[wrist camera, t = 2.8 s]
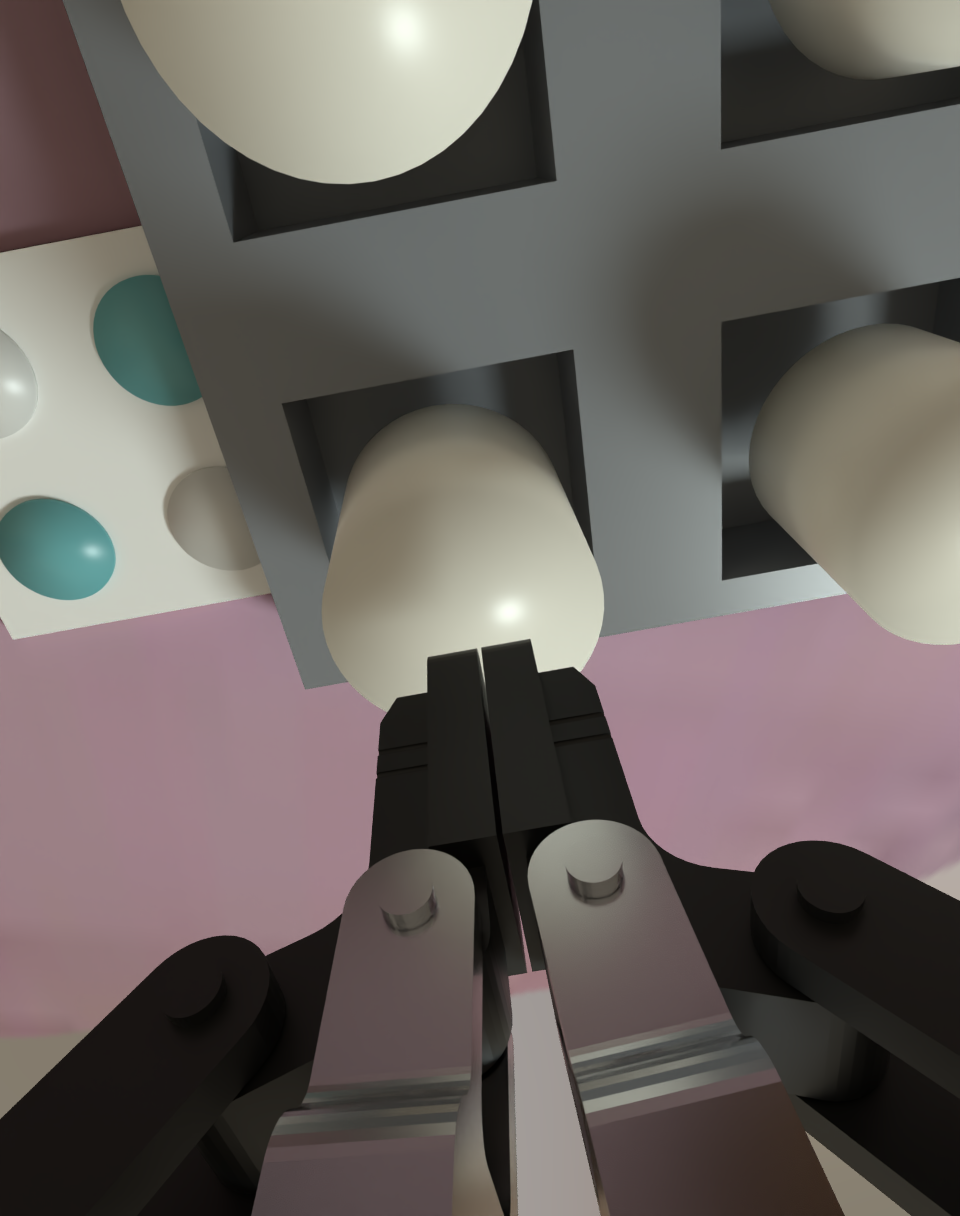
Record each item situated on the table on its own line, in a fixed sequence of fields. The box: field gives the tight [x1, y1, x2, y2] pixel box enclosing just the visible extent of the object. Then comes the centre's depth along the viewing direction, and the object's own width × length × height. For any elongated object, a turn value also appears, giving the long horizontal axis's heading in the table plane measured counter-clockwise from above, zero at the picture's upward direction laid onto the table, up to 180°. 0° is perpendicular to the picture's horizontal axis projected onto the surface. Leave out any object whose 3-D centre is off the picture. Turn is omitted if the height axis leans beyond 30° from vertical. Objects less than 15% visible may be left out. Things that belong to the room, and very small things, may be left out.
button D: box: [749, 324, 960, 645], centre depth 15 cm, size 5×5×5 cm
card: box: [0, 226, 271, 640], centre depth 19 cm, size 9×9×1 cm
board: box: [63, 0, 960, 689], centre depth 16 cm, size 18×17×3 cm
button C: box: [321, 404, 604, 712], centre depth 15 cm, size 5×5×5 cm
